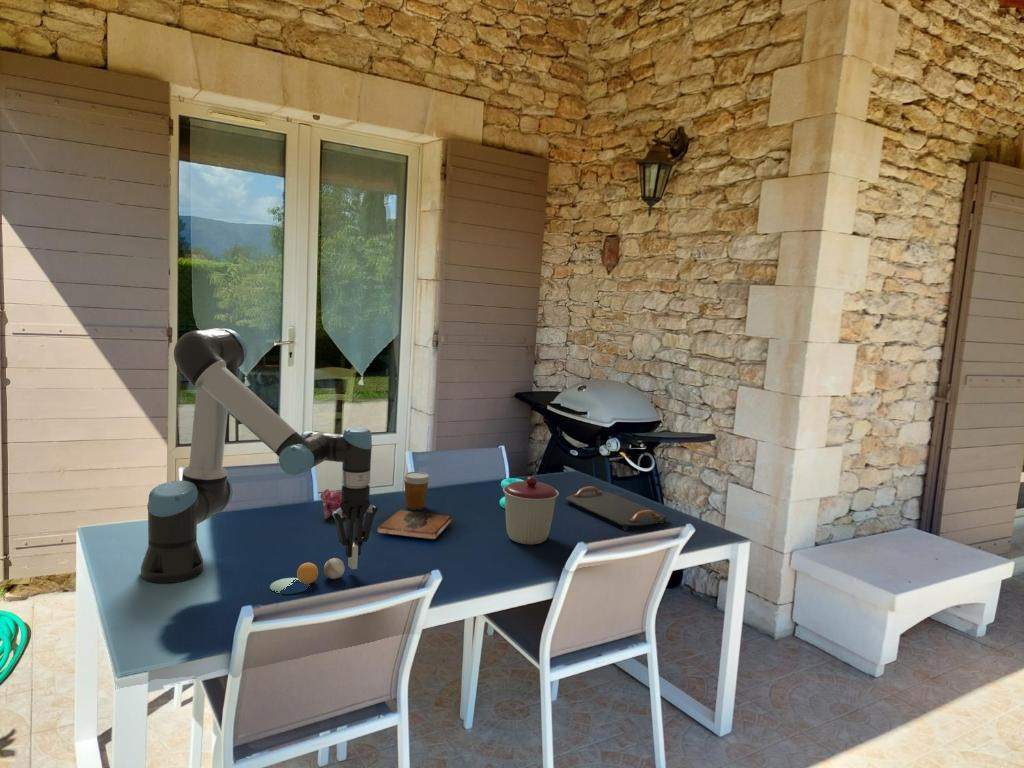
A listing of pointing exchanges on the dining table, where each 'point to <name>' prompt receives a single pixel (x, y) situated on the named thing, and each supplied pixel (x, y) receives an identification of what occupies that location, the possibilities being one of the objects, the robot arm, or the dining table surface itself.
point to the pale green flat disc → (282, 584)
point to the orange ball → (307, 573)
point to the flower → (331, 502)
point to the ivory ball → (334, 568)
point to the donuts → (503, 484)
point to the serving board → (615, 508)
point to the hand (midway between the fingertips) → (352, 567)
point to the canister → (529, 510)
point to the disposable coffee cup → (415, 489)
